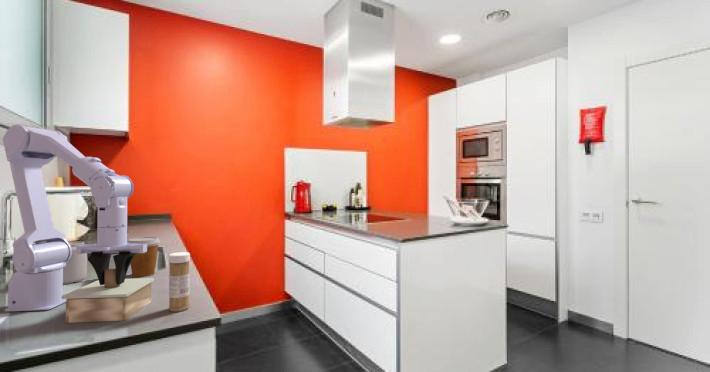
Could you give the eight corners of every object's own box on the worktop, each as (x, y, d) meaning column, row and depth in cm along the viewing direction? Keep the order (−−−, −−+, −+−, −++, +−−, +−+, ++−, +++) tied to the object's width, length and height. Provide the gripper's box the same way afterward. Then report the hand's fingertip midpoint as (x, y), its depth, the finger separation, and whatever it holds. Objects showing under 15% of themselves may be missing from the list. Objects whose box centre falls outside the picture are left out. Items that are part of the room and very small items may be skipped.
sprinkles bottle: (186, 304, 85) (186, 250, 85) (192, 309, 81) (192, 253, 81) (165, 308, 81) (166, 253, 81) (171, 313, 78) (172, 256, 78)
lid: (61, 298, 72) (61, 277, 72) (99, 281, 85) (99, 263, 85) (126, 296, 74) (126, 276, 74) (154, 280, 87) (154, 262, 87)
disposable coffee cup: (141, 270, 117) (141, 236, 117) (166, 271, 116) (166, 237, 116) (118, 277, 108) (119, 240, 108) (145, 279, 107) (145, 241, 107)
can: (68, 285, 99) (68, 245, 99) (48, 284, 101) (48, 244, 101) (93, 278, 107) (93, 241, 107) (74, 277, 108) (74, 240, 108)
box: (65, 322, 73) (65, 299, 73) (100, 303, 85) (100, 283, 85) (125, 320, 74) (125, 297, 74) (151, 301, 86) (151, 282, 86)
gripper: (66, 228, 75) (66, 289, 75) (136, 228, 76) (136, 287, 76) (87, 224, 82) (87, 280, 82) (151, 224, 83) (151, 279, 83)
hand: (112, 283), depth 79 cm, fingers closed on lid, 3 cm apart
